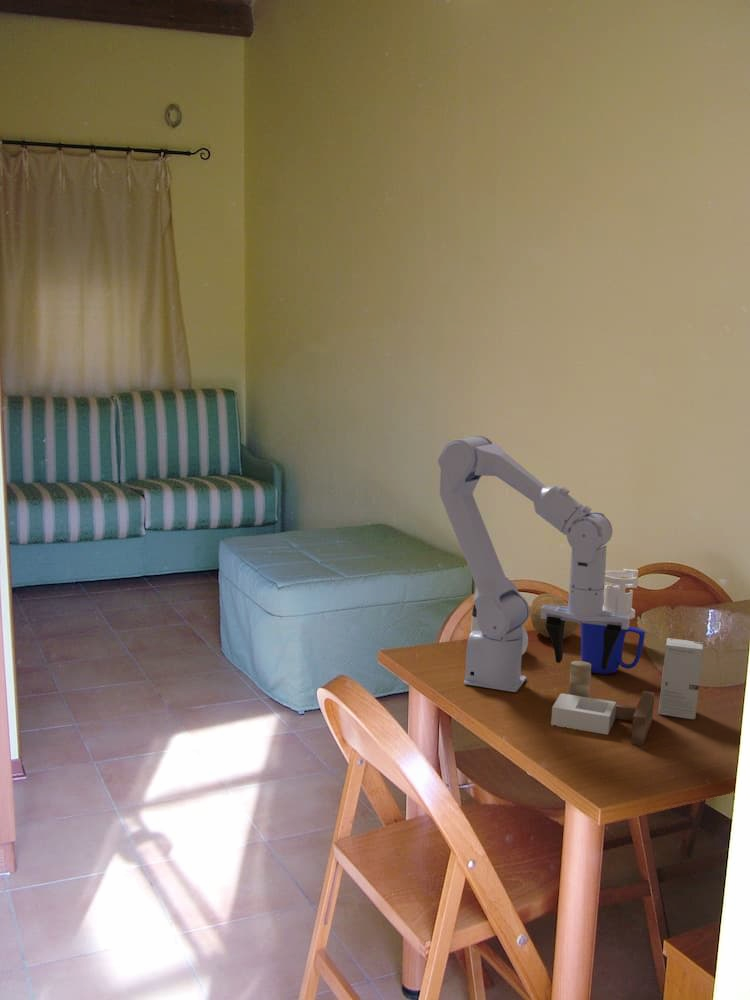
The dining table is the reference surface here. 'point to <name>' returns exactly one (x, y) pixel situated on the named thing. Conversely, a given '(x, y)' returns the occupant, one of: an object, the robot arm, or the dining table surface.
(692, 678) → the skincare box
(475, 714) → the dining table surface
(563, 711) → the white pocketed block
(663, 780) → the dining table surface
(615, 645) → the mug
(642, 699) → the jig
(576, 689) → the dowel
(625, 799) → the dining table surface
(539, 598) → the potato
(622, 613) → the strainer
